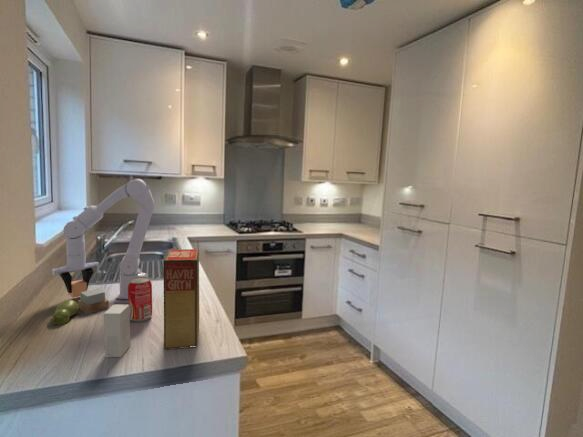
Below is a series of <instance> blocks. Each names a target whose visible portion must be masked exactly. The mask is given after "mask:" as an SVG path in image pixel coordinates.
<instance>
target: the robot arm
mask: <svg viewBox="0 0 583 437" xmlns="http://www.w3.org/2000/svg"><path fill="white" fill-rule="evenodd" d="M130 197H131V198H132V199H133V200H135V201H136V202H137V204H138V206H139V208H140V209H139V211H138V215H137V218H136V221H135V223H134V228H133V230H132V233H131V237H130V241H129V244H128V247H127V250H126V252H125V254H124V255H123V257H122V260H121V261H120V263H119V265H118V268H119V294H117V295H116V297H115V299H117V300H124V299H125V300H128V284H129V280H130V279H132V278H135V277H149V276H148V273H145V272H142V270H141V269H140V268H139V265H140V263H141V256H140V254H141V251H142V248H143V244H144V241H145V238H146V235H147V231H148V228H149V225H150V222H151V219H152V216H153V212H154V209H155V204H156V203H155V200H154V197H153V195H152V191H151V189H150V187H149V185H148V184H147V182H145V181H144V180H143V179H141V178H134V179H132V180H129V181H128V182H127V183H125V184H124V185H122V186H120V187H118V188H117V189H115V190H114V191H113V192H112V193H111V194H109V195H108V196H107V197H105V198H104V199H103V200H102V201H100V202H99V203H98V204H97V205H89V206H87V205H86V206H85V207H84V208H83V211H82V212H81V213H79V214H78V215H77V216H76V215H75V216H73V217H72V220H71V221H68V222H67V223H66V224H65V225H64V226H63V234H64V235H65V248H66V265H65V266H61V267H60V266H59V267H56V268H52V269H51V274H52V276H58V275H59V277H61V279H62V281H63V282H64V285H65V287H66V291H67V293H72V286H71V282H73V281H72V280H73V275H71V273H75V272H81V275H82V280H83V281H85V282H86V283H87V289H89V288H88V287H89V283H90V281H91V278H92V276H93V275H94V274H95V273H94V272H95V271H94V269H100V262H98V261H94V262H87V260H86V256H87V254H86V240H85V233H86V232H87V230H89V229H91V228H92V227H93V226H94V225H95V224H96V223H98V222H99V221H100V220H102V219H103V218H104V213H105V212H106V211H107V210H108V209H110V208H111V207H112V206H114V205H115V204H116V203H118V202H119V201H120V200H122V199H128V198H130Z"/></svg>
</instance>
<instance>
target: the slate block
mask: <svg viewBox="0 0 583 437" xmlns="http://www.w3.org/2000/svg"><path fill="white" fill-rule="evenodd" d="M79 297H80V300H81V301H82V302H83V303H85V304H87V305H90V304H94V303H98V302H102V301H105V299H106V292H105V291H103V290H101V289H100V288H92V289H89V290H88V289H87V291H84V292H80V296H79Z"/></svg>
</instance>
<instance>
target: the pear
mask: <svg viewBox="0 0 583 437" xmlns="http://www.w3.org/2000/svg"><path fill="white" fill-rule="evenodd" d="M78 310H79V308H78V301H76V300H73V299H65V300H63V301H61V302H60V303H59V304H58V305H57V307H56V308H55V312H54V313H53V315H52V319H51V320H52V325H65V324H67V323H69V322H70V317H72V316H74V315H76V314H77V312H78Z"/></svg>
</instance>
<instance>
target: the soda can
mask: <svg viewBox="0 0 583 437" xmlns="http://www.w3.org/2000/svg"><path fill="white" fill-rule="evenodd" d="M127 305H129V317H130V321H131V322H134V323H135V322H136V323H139V322H140V323H141V322H145V321H147V320H149V319H150V318H151V317H152V315H153V283H152V281H151V278H150V277H149V276H148V277H135V278H132V279H130V280H129V284H128V299H127Z"/></svg>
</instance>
